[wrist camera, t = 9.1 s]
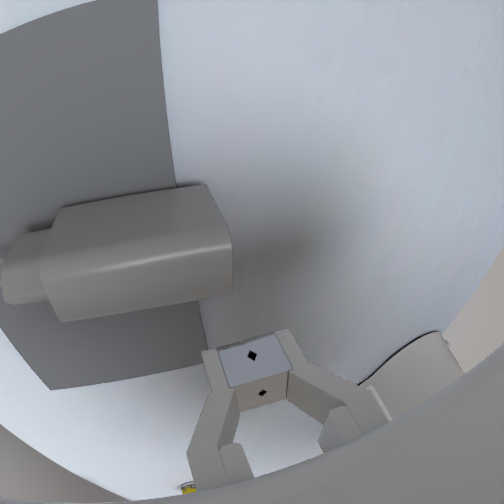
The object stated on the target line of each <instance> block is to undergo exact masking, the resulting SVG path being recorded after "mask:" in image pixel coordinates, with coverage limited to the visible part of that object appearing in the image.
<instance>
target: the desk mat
mask: <svg viewBox="0 0 504 504" xmlns="http://www.w3.org/2000/svg"><path fill="white" fill-rule="evenodd" d="M174 188H176V182H175V175H174V168H173V161H172V154H171V146H170V138H169V130H168V122H167V114H166V105H165V95H164V85H163V75H162V64H161V51H160V38H159V22H158V3H157V0H96V1H92V2H88V3H85V4H81V5H78V6H74V7H71V8H67V9H64V10H61V11H58V12H55V13H52V14H49V15H46V16H44V17H41V18H38V19H35V20H33V21H30V22H28V23H25V24H23V25H20V26H18V27H16V28H13V29H11V30H9V31H7V32H5V33H2V34H0V258H5V257H6V255H7V253H8V251H9V249H10V247H11V245H12V243H13V241H14V240H15V238H16V237H17V236H18V235H22V234H27V233H31V232H36V231H40V230H45V229H50V228H52V226H53V223H54V221H55V219H56V217H57V214H58V212H59V210H60V209H61V208H64V207H69V206H74V205H79V204H84V203H89V202H94V201H100V200H105V199H111V198H116V197H122V196H128V195H134V194H140V193H147V192H153V191H160V190H167V189H174ZM1 266H2V265H0V271H1ZM0 280H1V275H0ZM0 328H1V329H2V330H3V332H4V333H5V335H6V336H7V337H8V339H9V340H10V342H11V343H12V344H13V346H14V347H15V348H16V350H17V351H18V352H19V353H20V355H21V356H22V357H23V359H24V360H25V361H26V362H27V364H28V365H29V366H30V367H31V368H32V370H33V371H34V372H35V373H36V374H37V376H38V377H39V378H40V379H41V380H42V381H43V382H44V384H45V385H46V386H47V387H48V388H49V389H50V390H57V389H66V388H73V387H81V386H88V385H94V384H101V383H107V382H113V381H119V380H124V379H130V378H135V377H141V376H146V375H151V374H156V373H161V372H166V371H170V370H175V369H179V368H184V367H188V366H193V365H197V364H201V363H204V362H203V358H202V354H201V351H204V350H208V349H207V345H206V341H205V336H204V332H203V327H202V323H201V318H200V313H199V309H198V304H197V300H196V301H190V302H184V303H179V304H173V305H168V306H162V307H156V308H150V309H144V310H138V311H132V312H126V313H120V314H114V315H107V316H101V317H94V318H88V319H81V320H74V321H67V322H61V321H60V320H59V319H58V317H57V315H56V313H55V311H54V309H53V307H52V305H51V303H50V301H49V300H47V301H40V302H34V303H27V304H21V305H13V304H9V303H6V302H5V301H4V298H3V293H2V287H0Z"/></svg>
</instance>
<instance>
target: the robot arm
mask: <svg viewBox="0 0 504 504" xmlns="http://www.w3.org/2000/svg"><path fill="white" fill-rule="evenodd" d="M449 347H450V345H449V343H448V342H447V341H446V340H444V339H443V337H442V334H441V333H439V332H433V333H430V334H427V335H425V336H423V337H421V338H419V339H417V340H416V341H414V342H413V343H411V344H410V345H408V346H407V347H405V348H404V349H402V350H401V351H400V352H398V353H397V354H396V355H395V356H393V357H392V358H391V359H390V360H389V361H387V362H386V363H385V364H384V365H383V366H382V367H381V368H380V369H379V370H378V371H377V372H376V373H375V374H374V375H372V376H371V377H370V378H369V379H367V380H366V381H365V382H363V383H362V384H360V385H359V386H357V385H355V384H353V383H351V382H349V381H347V380H345V379H343V378H341V377H339V376H337V375H335V374H333V373H331V372H329V371H328V370H326V369H324V368H322V367H320V366H318V365H316V364H314V363H310V364H309V363H308V362H307V360H306V358H305V356H304V355H303V353H302V351H301V349H300V347H299V346H298V344H297V342H296V340H295V339H294V337H293V335H292V333H291V331H290V330H289V329H288V328H285V329H282V330H279V331H275V332H271V333H267V334H264V335H261V336H257V337H254V338H251V339H247V340H245V341H242V342H238V343H234V344H230V345H226V346H221V347H217V348H213V349H209V350H204V351H201V354H202V358H203V362H204V365H205V369H206V372H207V376H208V379H209V383H210V386H211V389H212V393H210V394H208V396H207V399H206V402H205V404H204V407H203V410H202V412H201V415H200V418H199V421H198V423H197V426H196V429H195V431H194V434H193V437H192V439H191V442H190V445H189V447H188V450H187V457H188V461H189V465H190V469H191V473H192V476H193V480H194V483H195V487H196V490H197V492H193V493H188V494H182V495H176V496H170V497H163V498H156V499H147V500H138V501H127V502H111V503H55V502H54V503H53V502H40V501H29V500H19V499H13V498H6V497H0V504H504V343H503V344H502V345H501V346H500V347H499V348H497V349H496V350H495V351H494V352H493V353H491V354H490V355H489V356H488V357H486V358H485V359H484V360H483V361H481V362H480V363H479V364H478V365H476V366H475V367H474V368H472V369H471V370H470V371H468V372H467V373H466V374H465V373H464V371H463V370H462V368H461V367H460V365H459V363H458V362H457V360H456V359H455V357H454V356H453V354H452V353H451V351H450V350H449ZM285 398H287V400H288V401H290V402H291V403H292V404H294V405H295V406H297V407H298V408H300V409H301V410H302V411H304V412H305V413H307V414H308V415H310V416H311V417H313V418H314V419H316V420H317V421H319V422H320V423H322V424H323V425H324V427H323V430H322V432H321V435H320V437H319V439H318V443H319V445H320V447H321V449H322V451H323V454H321V455H319V456H316V457H314V458H311V459H308V460H306V461H303V462H300V463H298V464H295V465H292V466H289V467H287V468H284V469H281V470H278V471H275V472H272V473H268V474H265V475H262V476H259V477H255V478H254V476H253V473H252V471H251V468H250V466H249V463H248V461H247V458H246V456H245V453H244V450H243V448H242V445H240V444H238V443H233V439H234V436H235V432H236V428H237V424H238V420H239V416H240V412H243V411H246V410H250V409H253V408H256V407H259V406H262V405H265V404H269V403H272V402H276V401H279V400H282V399H285Z"/></svg>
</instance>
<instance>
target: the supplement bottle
mask: <svg viewBox="0 0 504 504" xmlns="http://www.w3.org/2000/svg"><path fill="white" fill-rule="evenodd" d="M181 488H182V492H183V494H188V493H193V492H197V490H196V487H195V483H194V481H193V482H188V483H185V484H183V485H182V486H181Z"/></svg>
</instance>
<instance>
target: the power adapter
mask: <svg viewBox="0 0 504 504" xmlns="http://www.w3.org/2000/svg"><path fill="white" fill-rule="evenodd" d="M0 265H2V266H1V271H0V275H1V280H0V287H2V293H3V298H4V301H5V302H6V303H9V304H13V305H21V304H27V303H34V302H40V301H47V300H49V301H50V303H51V305H52V307H53V309H54V311H55V313H56V315H57V317H58V319H59V320H60V321H61V322H67V321H74V320H81V319H88V318H94V317H101V316H107V315H114V314H120V313H126V312H132V311H138V310H144V309H150V308H156V307H162V306H168V305H173V304H179V303H184V302H190V301H196V300H201V299H206V298H212V297H217V296H222V295H227V294H232V292H233V253H232V243H231V237H230V233H229V230H228V227H227V224H226V222H225V220H224V219H223V217H222V215H221V213H220V211H219V209H218V207H217V205H216V203H215V201H214V199H213V197H212V195H211V193H210V191H209V189H208V188H207V186H206V185H205V184H204V185H196V186H188V187H181V188H174V189H167V190H160V191H153V192H147V193H140V194H134V195H128V196H122V197H116V198H111V199H105V200H100V201H94V202H89V203H84V204H79V205H74V206H69V207H64V208H61V209H60V210H59V212H58V214H57V217H56V219H55V221H54V223H53V226H52V228H50V229H45V230H40V231H36V232H31V233H27V234H22V235H18V236H17V237H16V238H15V240H14V241H13V243H12V245H11V247H10V249H9V251H8V253H7V255H6V257H5V258H0Z"/></svg>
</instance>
